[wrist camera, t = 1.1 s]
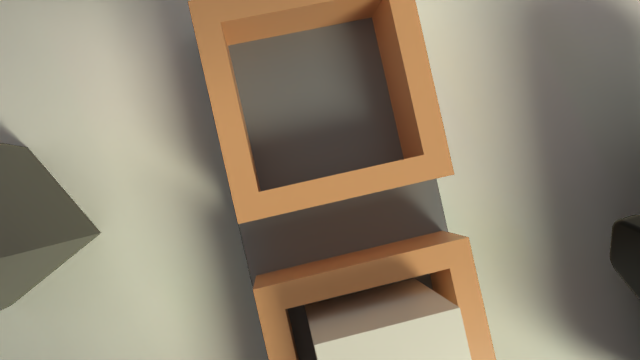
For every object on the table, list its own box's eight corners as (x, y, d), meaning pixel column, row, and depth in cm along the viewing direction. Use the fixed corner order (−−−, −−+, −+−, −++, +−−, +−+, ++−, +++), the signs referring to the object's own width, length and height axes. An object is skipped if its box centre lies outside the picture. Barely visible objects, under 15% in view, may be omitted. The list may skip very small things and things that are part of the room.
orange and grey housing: (481, 425, 24) (567, 524, 17) (298, 476, 23) (308, 603, 16) (385, -3, 24) (431, -83, 17) (198, 34, 23) (164, -35, 16)
